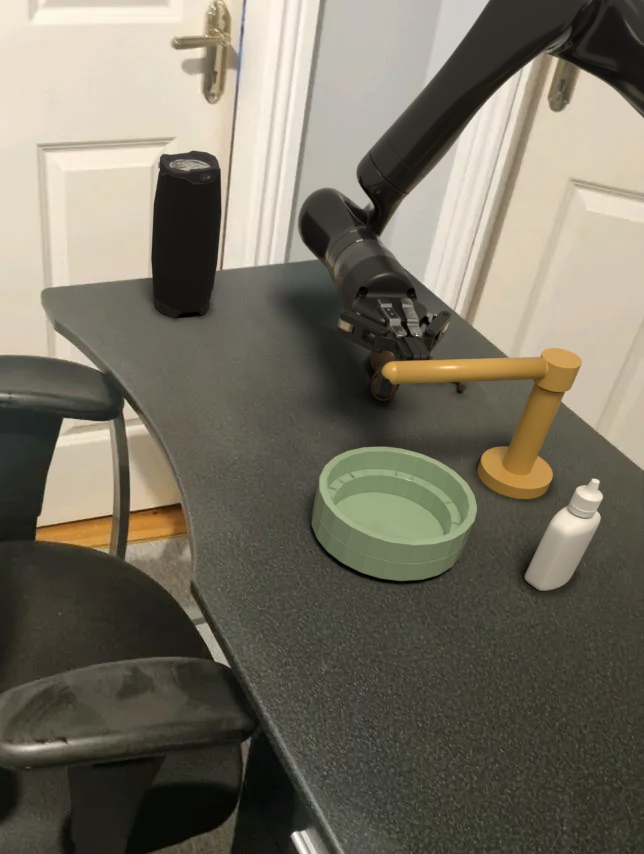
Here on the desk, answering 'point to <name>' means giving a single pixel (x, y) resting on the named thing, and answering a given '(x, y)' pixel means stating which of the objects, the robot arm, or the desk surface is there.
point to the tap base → (523, 451)
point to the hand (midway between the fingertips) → (418, 365)
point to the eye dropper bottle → (566, 539)
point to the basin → (392, 513)
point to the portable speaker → (186, 232)
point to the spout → (485, 371)
